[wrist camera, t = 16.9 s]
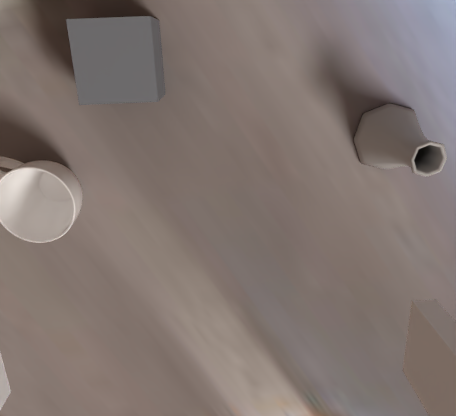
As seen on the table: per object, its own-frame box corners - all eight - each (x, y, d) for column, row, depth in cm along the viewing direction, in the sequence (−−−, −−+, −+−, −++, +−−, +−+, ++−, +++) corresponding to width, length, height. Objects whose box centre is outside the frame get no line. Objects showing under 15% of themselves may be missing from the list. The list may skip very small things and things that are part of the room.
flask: (354, 105, 46) (390, 120, 36) (421, 100, 46) (475, 114, 36) (351, 171, 48) (385, 201, 39) (416, 166, 48) (465, 195, 39)
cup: (69, 230, 50) (48, 257, 43) (-11, 178, 47) (-45, 198, 41) (106, 179, 48) (90, 200, 41) (26, 122, 45) (-5, 134, 39)
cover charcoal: (87, 23, 42) (65, 19, 36) (159, 20, 42) (150, 15, 36) (97, 96, 45) (79, 104, 38) (165, 94, 45) (158, 101, 39)
